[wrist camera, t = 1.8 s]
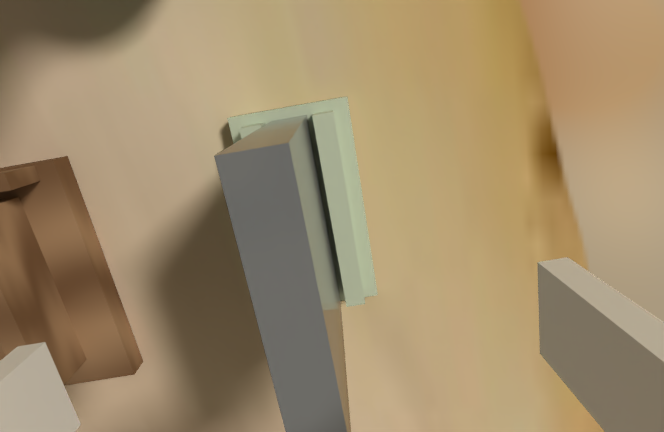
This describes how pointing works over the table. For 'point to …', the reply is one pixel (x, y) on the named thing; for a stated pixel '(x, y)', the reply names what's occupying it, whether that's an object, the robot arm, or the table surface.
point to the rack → (58, 277)
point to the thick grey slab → (289, 270)
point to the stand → (332, 188)
